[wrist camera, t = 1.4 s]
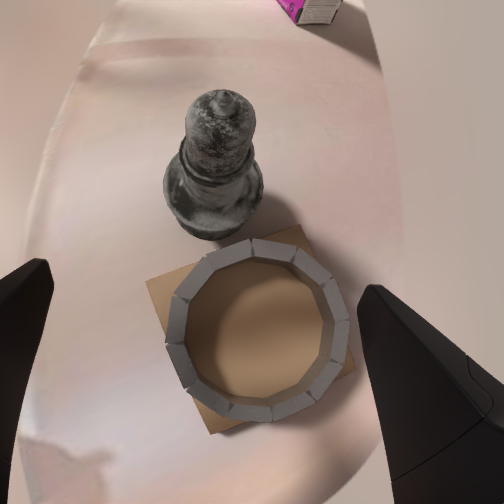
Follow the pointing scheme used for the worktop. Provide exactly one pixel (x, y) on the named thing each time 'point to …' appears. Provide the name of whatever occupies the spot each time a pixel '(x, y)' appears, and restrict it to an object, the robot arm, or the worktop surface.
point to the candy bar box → (311, 10)
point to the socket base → (254, 329)
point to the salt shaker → (215, 167)
